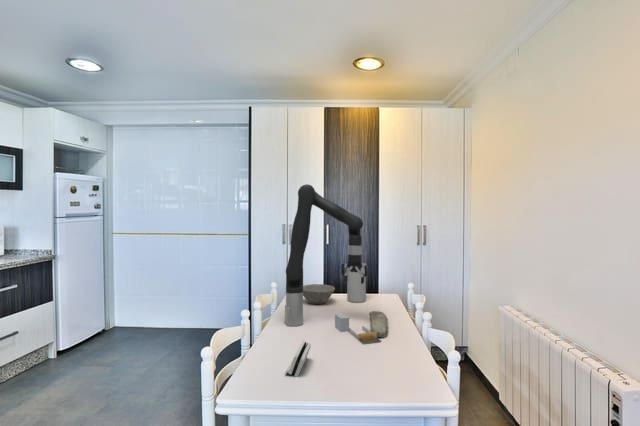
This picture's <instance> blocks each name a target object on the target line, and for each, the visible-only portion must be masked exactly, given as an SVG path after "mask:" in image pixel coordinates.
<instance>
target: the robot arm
mask: <svg viewBox="0 0 640 426" xmlns="http://www.w3.org/2000/svg"><path fill="white" fill-rule="evenodd" d="M297 191H298V192H297V197H298V199H297V209H296V213H295V217H294V220H293V224H292V229H291V235H290V251H289V256H288V257H289V259H288V262H287V266H286V269H285V275H286V276H285V277H286V278H285V304H284V324H285V325H286V326H287V327H298V326H302V325H304V296H303V286H304V257H305V253H306V249H307V245H308V242H309V235H310V228H311V216H312V215H311V214H312V213H311V212H312V208H313V206H315V207H316V208H318V209H320V210H321V211H323V212H325V213H326V214H327V215H329V216H330V217H331V218H333V219H335V220H336V221H338V222H340V223H343V224H345V225H346V226H347V228H348V229H347V230H348V249H347V263H345V262H343V263H342V264H341V272H340V273H341V275H343V276H344V282H345V283H346V284H347V282H348V275H347V274H348V273H349V272H350V271H351V272H359V274H360V275H361V276H362V277H361V284H363V283H364V277H365V276H366V277H367V276H368V275H369V271H368V268H369V267H368V264H366V265H362V263H363V261H362V260H363V258H362V256H363V254H362V253H363V248H362V247H363V246H362V243H363V242H362V241H363V239H362V235H361V229H362V228H363V227H364V221H363V220H362V218H360V217H359V216H357V215H356V214H353V213H352V212H349V211H347V209H345V208H343V207H341V206H340V205H339V204H336V203H334V202H333V201H330V200H328V199H327V198H325V197H323V196H322V195H320V194H319V193H318V192H317V191H316V189H315V188H314V187H313V186H312V185H311V184H302V186H300V187H299V188H298V190H297ZM347 267H348V270H345V268H347ZM362 267H363V269H365V274H363V272H362V270H361V268H362Z"/></svg>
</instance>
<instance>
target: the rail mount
mask: <svg viewBox="0 0 640 426" xmlns="http://www.w3.org/2000/svg"><path fill="white" fill-rule="evenodd" d="M361 330H362V331H363V332H362V333H356V332H355V331H354V330H353V329H352V328H350V327H349V328H348V331H347V333H348V334H350V335H351V336H352V337H354V338H355V339H356V340H357V341H358V342H359V343H361V344H362V345H370V344H377V343H381V342H382V340H380V339H379V337H377V333H376V332H372V331H371V329H370V330H369V329H368V328H367V327H365V326H363V325H362V326H361Z"/></svg>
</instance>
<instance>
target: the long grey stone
mask: <svg viewBox="0 0 640 426" xmlns="http://www.w3.org/2000/svg"><path fill="white" fill-rule="evenodd" d="M368 314H369V320H370V326H369V327H370V331H371V332H376V333H377V338H385V336H386V335H387V333H388V330H389V327H388V320H389V319H388V317H387V315H386V314H385V313H384V312H382V311H376V310H373V311H369V312H368Z"/></svg>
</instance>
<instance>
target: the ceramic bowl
mask: <svg viewBox="0 0 640 426" xmlns="http://www.w3.org/2000/svg"><path fill="white" fill-rule="evenodd" d="M334 292H335V286H333V285H330V284H329V285H328V284H321V283H320V284H318V283H317V284H315V283H313V284H305V285H303V298H304V299H305V301H306V302H307V303H309V304H310V305H323V304H325V303H326V302H328V301H329V299H330V298H331V297H332V295H333V293H334Z"/></svg>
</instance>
